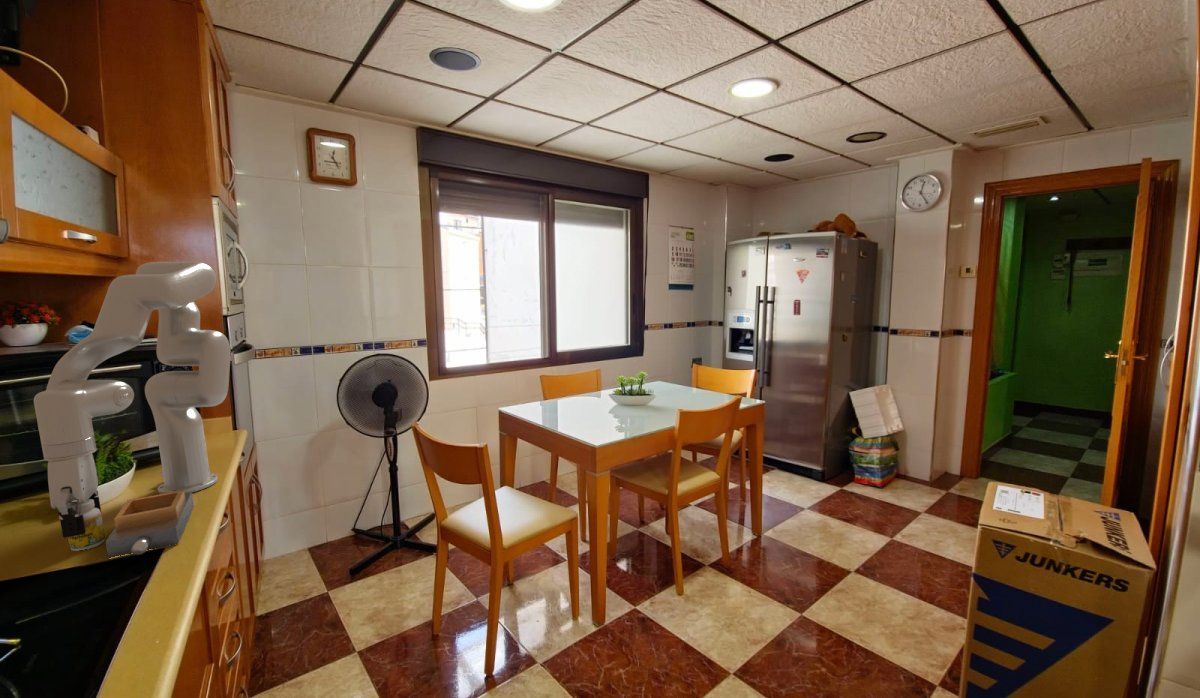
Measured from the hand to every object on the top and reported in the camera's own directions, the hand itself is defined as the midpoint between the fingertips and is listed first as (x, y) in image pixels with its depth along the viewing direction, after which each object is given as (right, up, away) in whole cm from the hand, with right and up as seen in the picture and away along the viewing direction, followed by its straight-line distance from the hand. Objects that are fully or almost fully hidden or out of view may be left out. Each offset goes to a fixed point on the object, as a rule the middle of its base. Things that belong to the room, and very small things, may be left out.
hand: (83, 525), depth 106 cm
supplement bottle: (0, -5, +1) cm, 5 cm away
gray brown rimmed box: (+10, -4, +5) cm, 12 cm away
